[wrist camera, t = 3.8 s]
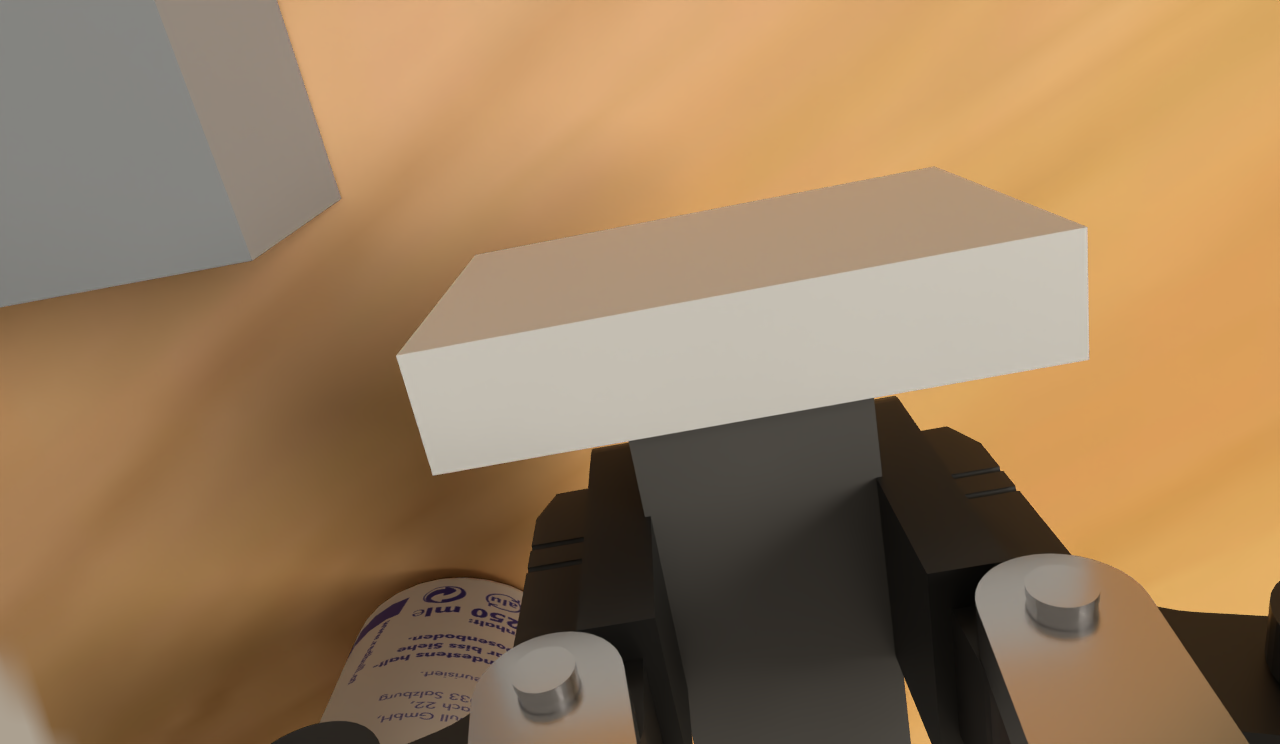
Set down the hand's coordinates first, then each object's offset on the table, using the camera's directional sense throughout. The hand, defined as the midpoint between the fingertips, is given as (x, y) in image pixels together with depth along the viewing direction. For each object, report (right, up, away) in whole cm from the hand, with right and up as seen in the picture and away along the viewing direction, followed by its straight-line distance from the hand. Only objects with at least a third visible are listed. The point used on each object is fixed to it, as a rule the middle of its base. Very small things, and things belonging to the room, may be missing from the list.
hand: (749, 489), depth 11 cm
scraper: (0, 0, +2) cm, 2 cm away
